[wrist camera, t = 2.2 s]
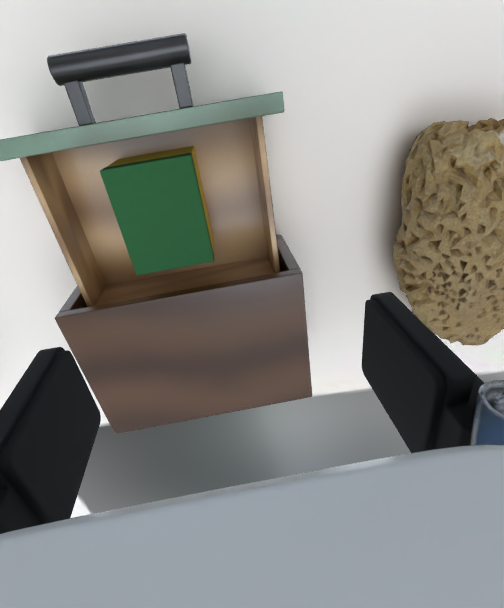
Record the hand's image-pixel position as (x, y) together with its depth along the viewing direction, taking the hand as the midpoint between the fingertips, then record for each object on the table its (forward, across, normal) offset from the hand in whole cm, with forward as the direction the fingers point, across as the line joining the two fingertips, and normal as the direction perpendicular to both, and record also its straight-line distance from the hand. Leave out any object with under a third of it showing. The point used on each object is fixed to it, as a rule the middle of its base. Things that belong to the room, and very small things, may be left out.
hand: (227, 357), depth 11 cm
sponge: (+20, -21, +6) cm, 30 cm away
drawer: (+20, +3, -2) cm, 21 cm away
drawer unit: (+20, +3, +10) cm, 23 cm away
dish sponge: (+19, +3, -1) cm, 19 cm away
